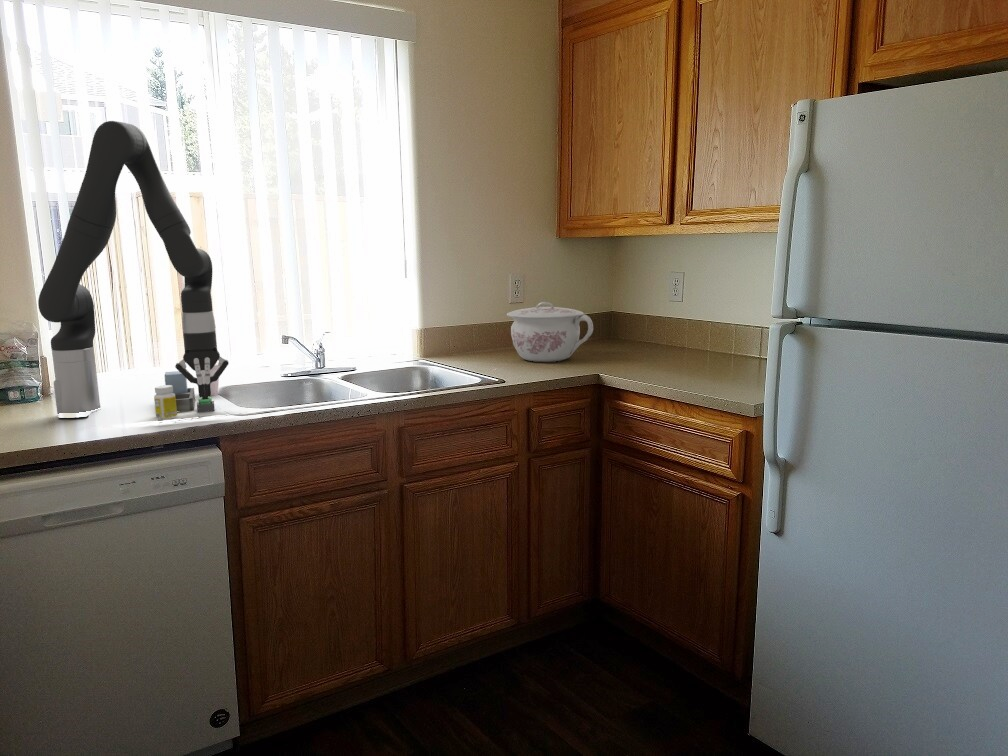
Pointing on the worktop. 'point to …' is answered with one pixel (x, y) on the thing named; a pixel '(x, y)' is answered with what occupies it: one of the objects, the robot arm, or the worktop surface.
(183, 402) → the gray open tray
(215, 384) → the smoothie
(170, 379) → the blue block
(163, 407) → the supplement bottle
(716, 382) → the worktop surface
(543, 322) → the chamber pot
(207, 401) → the button
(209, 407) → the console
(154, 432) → the worktop surface
